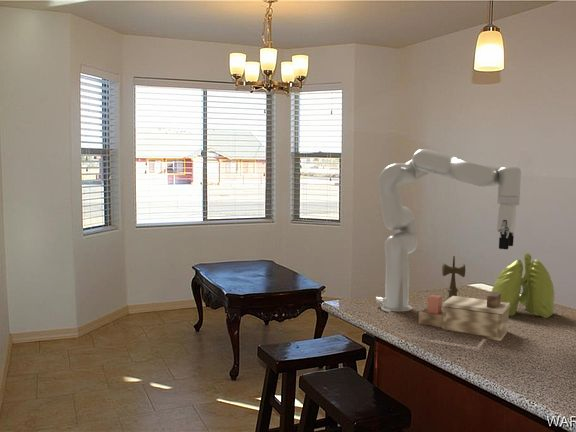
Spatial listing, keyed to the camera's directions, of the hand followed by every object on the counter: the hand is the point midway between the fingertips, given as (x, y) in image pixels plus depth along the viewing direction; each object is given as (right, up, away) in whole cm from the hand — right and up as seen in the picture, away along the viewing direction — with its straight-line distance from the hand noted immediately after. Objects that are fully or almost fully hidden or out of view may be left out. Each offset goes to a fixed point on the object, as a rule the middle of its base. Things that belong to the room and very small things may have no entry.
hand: (506, 247), depth 211 cm
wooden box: (-17, -30, -2) cm, 34 cm away
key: (-25, -28, +4) cm, 38 cm away
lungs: (+15, -28, +24) cm, 40 cm away
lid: (-13, -21, -5) cm, 25 cm away
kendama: (-7, -26, +43) cm, 51 cm away
